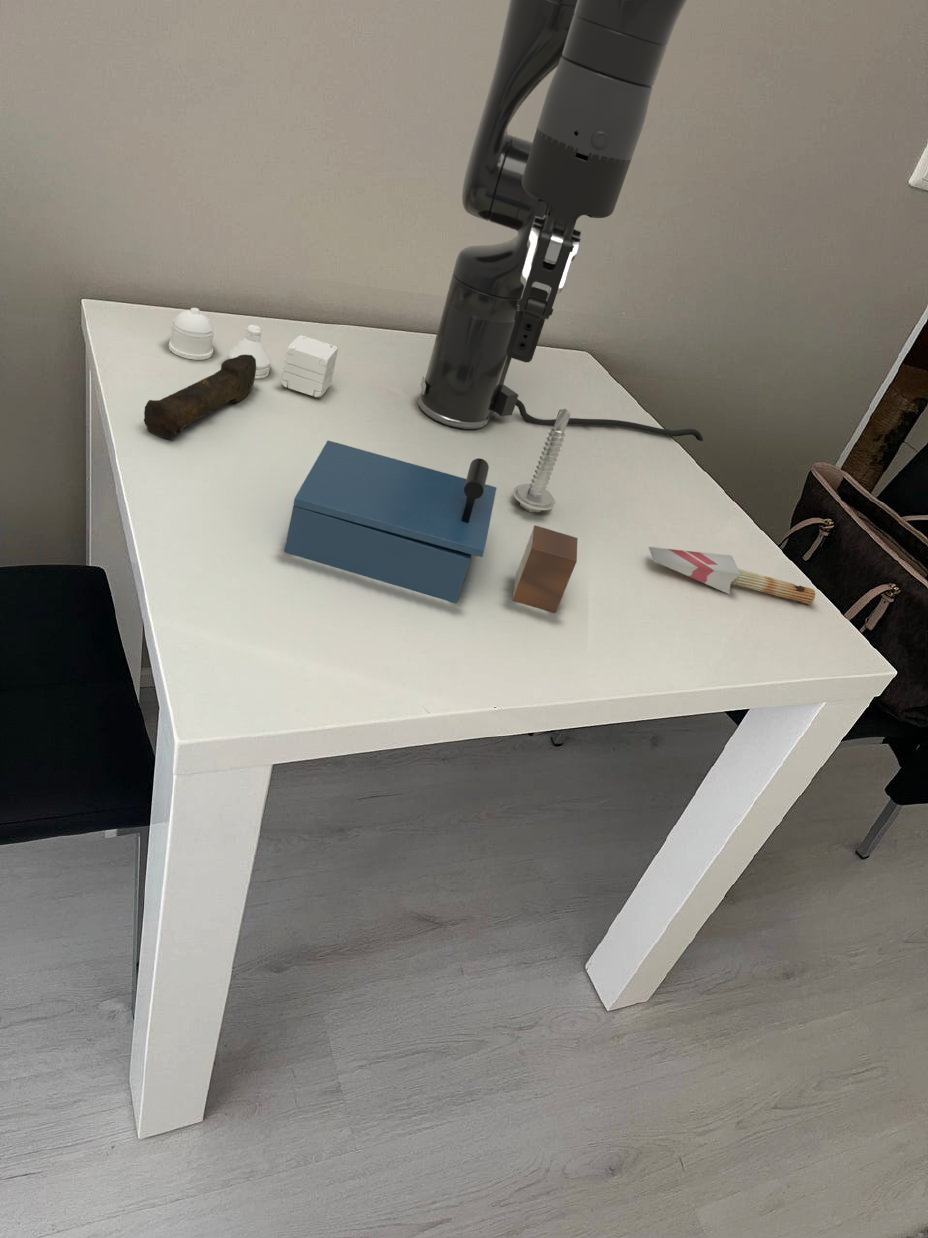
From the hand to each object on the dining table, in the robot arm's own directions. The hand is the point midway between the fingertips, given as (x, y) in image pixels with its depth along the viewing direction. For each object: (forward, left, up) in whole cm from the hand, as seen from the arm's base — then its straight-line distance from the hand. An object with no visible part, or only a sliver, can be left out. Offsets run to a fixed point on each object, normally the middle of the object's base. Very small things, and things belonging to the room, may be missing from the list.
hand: (521, 341), depth 81 cm
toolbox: (+4, -5, -24) cm, 25 cm away
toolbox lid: (+4, -5, -18) cm, 19 cm away
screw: (-18, -5, -24) cm, 30 cm away
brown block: (-5, +7, -24) cm, 26 cm away
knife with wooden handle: (-31, +15, -24) cm, 42 cm away
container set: (-5, -43, -24) cm, 50 cm away
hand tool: (+6, -35, -24) cm, 43 cm away
